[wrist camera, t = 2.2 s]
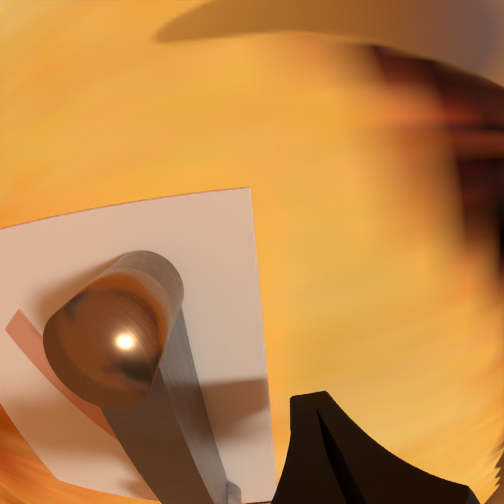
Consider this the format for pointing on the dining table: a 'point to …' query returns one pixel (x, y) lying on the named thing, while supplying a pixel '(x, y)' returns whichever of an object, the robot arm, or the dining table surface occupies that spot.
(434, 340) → the dining table surface
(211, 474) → the lever
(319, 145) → the dining table surface
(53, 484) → the dining table surface
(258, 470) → the board
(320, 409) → the robot arm
